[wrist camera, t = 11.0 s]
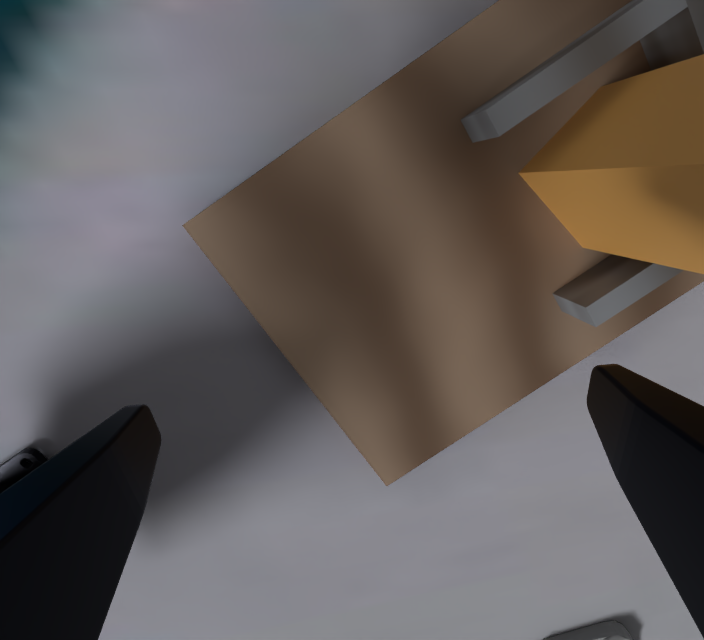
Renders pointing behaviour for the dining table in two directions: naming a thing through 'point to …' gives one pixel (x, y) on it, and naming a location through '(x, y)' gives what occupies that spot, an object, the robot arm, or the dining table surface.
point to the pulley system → (596, 632)
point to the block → (632, 168)
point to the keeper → (446, 229)
